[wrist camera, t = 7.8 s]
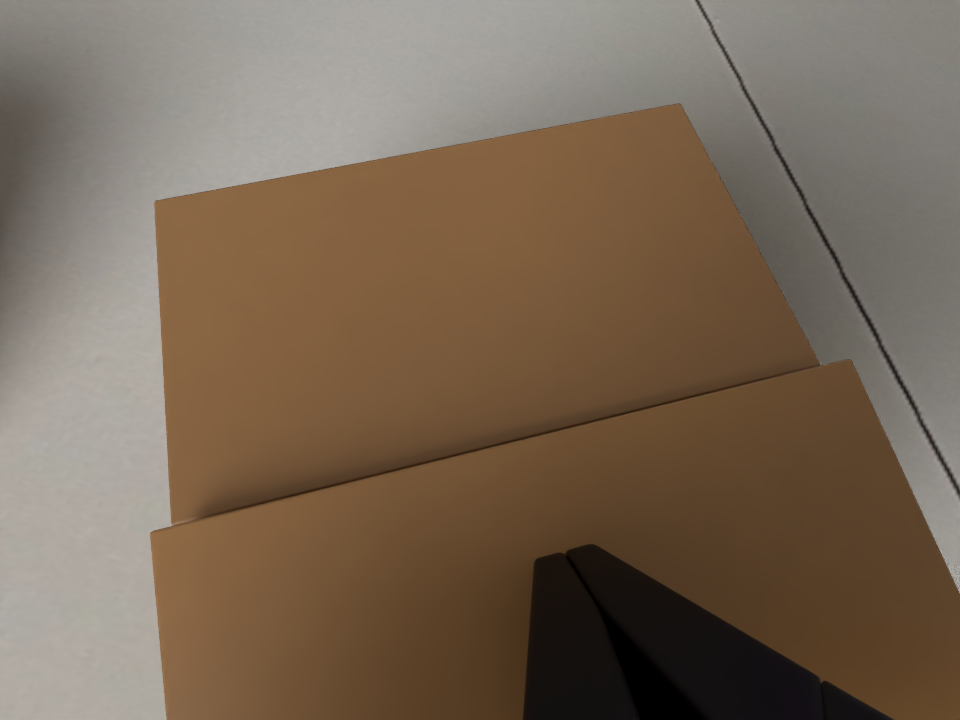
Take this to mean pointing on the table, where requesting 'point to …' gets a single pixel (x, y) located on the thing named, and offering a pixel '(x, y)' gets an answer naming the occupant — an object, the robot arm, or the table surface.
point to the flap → (557, 528)
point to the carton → (452, 305)
